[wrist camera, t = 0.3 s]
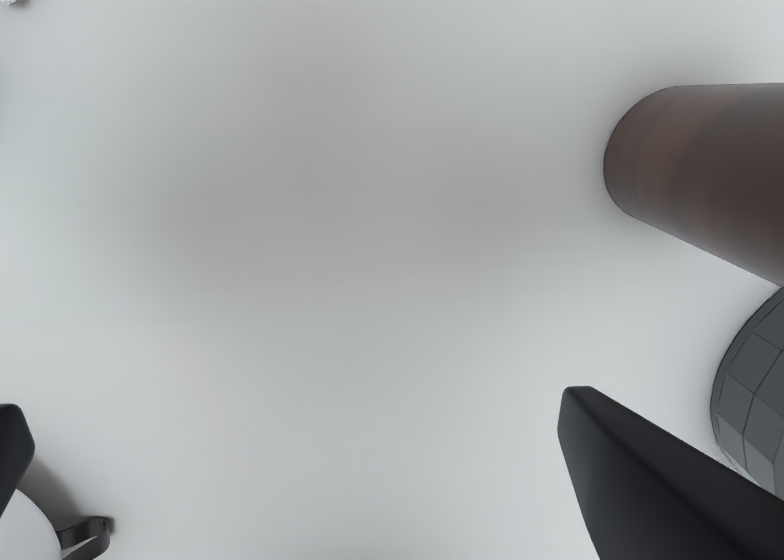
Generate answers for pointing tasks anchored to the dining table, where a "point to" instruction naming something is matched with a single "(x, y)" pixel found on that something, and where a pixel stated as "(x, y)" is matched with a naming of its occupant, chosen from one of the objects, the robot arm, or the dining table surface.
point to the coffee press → (47, 534)
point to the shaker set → (7, 1)
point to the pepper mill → (707, 170)
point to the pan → (754, 399)
